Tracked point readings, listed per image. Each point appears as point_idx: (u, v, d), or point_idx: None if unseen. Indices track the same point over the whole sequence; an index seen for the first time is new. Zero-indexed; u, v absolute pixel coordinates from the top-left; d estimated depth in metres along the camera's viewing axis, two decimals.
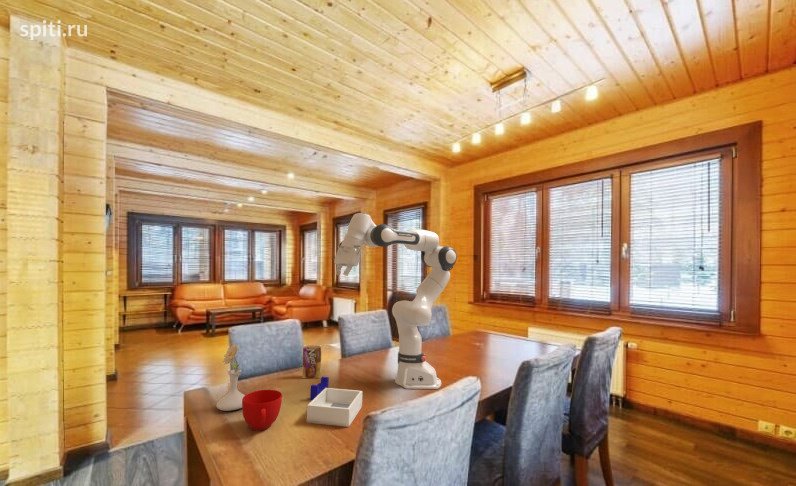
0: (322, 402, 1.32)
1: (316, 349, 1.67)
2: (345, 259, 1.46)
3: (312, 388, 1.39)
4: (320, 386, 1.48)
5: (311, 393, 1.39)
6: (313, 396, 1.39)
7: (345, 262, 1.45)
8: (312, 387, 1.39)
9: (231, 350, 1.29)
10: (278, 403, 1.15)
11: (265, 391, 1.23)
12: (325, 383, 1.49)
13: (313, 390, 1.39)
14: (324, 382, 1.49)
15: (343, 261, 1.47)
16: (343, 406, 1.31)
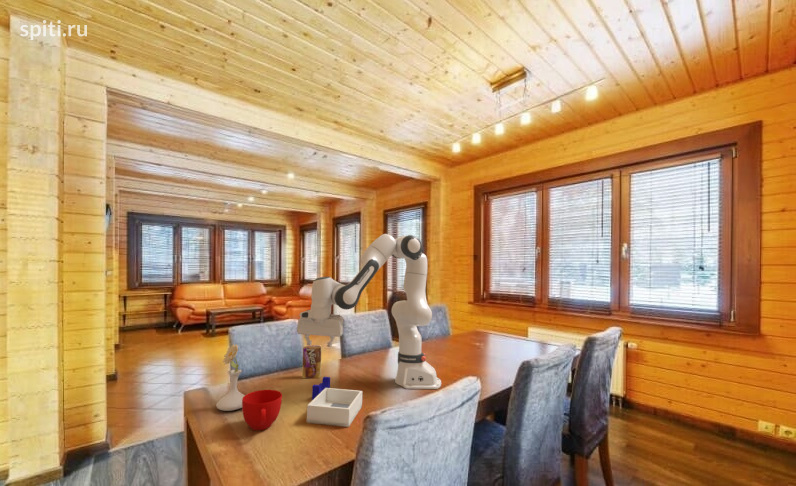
0: (322, 402, 1.32)
1: (316, 349, 1.67)
2: (325, 331, 1.45)
3: (314, 388, 1.39)
4: (322, 386, 1.48)
5: (313, 393, 1.39)
6: (315, 396, 1.39)
7: (327, 334, 1.44)
8: (314, 387, 1.39)
9: (231, 350, 1.29)
10: (278, 403, 1.15)
11: (265, 391, 1.23)
12: (327, 383, 1.49)
13: (315, 390, 1.39)
14: (326, 382, 1.49)
15: (321, 333, 1.45)
16: (343, 406, 1.31)
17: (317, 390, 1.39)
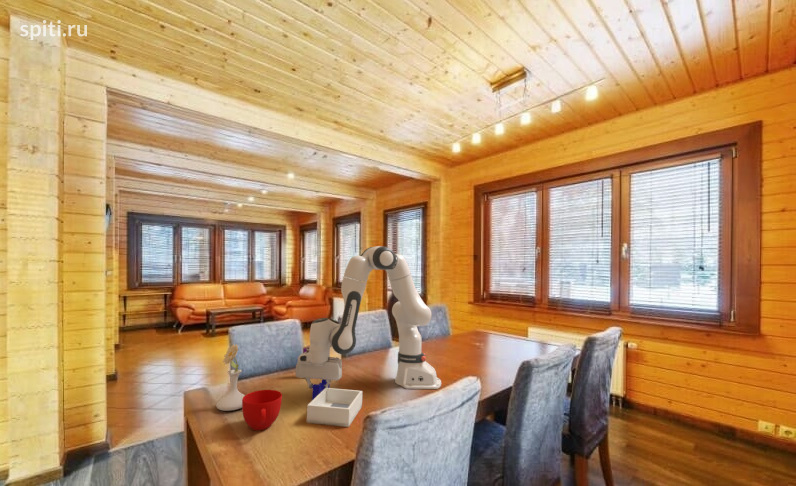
0: (322, 402, 1.32)
1: None
2: (323, 375, 1.43)
3: (314, 388, 1.40)
4: (321, 386, 1.48)
5: (313, 393, 1.39)
6: (315, 395, 1.39)
7: (326, 378, 1.43)
8: (314, 387, 1.40)
9: (231, 350, 1.29)
10: (278, 403, 1.15)
11: (265, 391, 1.23)
12: (326, 382, 1.49)
13: (315, 389, 1.39)
14: (325, 381, 1.49)
15: (320, 377, 1.44)
16: (343, 406, 1.31)
17: (317, 389, 1.39)
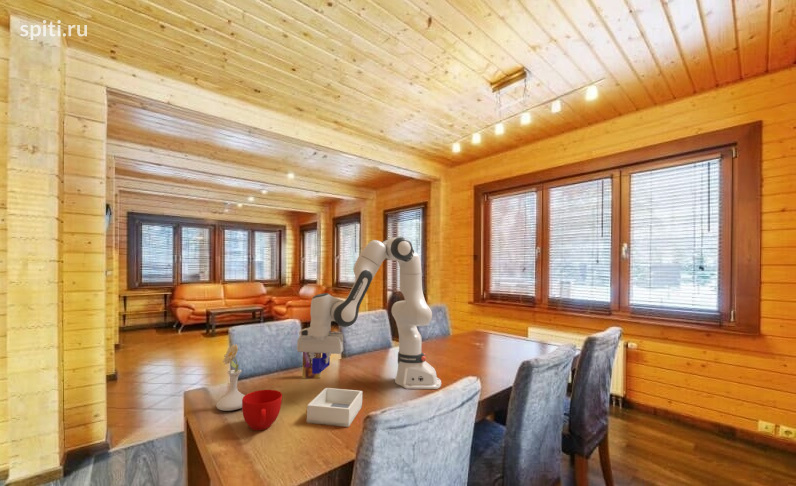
0: (322, 402, 1.32)
1: None
2: (325, 348, 1.44)
3: (314, 361, 1.41)
4: (321, 360, 1.49)
5: (313, 366, 1.41)
6: (315, 369, 1.40)
7: (327, 352, 1.44)
8: (314, 360, 1.41)
9: (231, 350, 1.29)
10: (278, 403, 1.15)
11: (265, 391, 1.23)
12: (326, 357, 1.50)
13: (315, 363, 1.41)
14: (325, 356, 1.50)
15: (322, 350, 1.44)
16: (343, 406, 1.31)
17: (317, 363, 1.40)
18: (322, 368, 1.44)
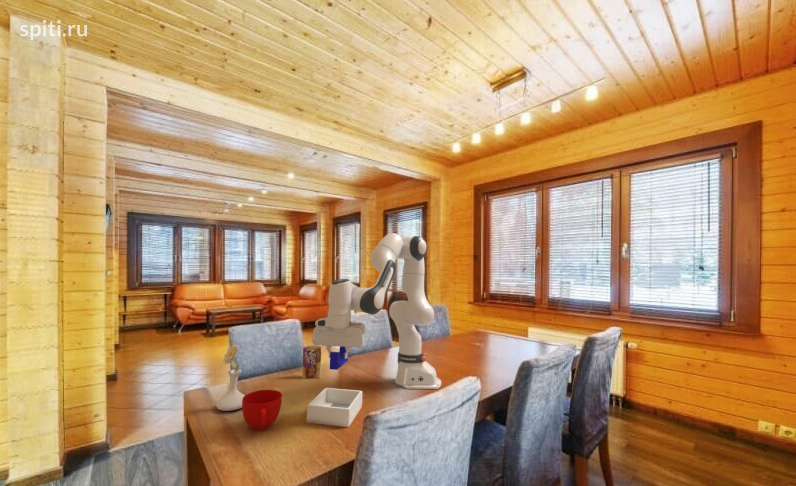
0: (322, 402, 1.32)
1: (316, 349, 1.67)
2: (344, 341, 1.27)
3: (332, 355, 1.23)
4: (339, 355, 1.32)
5: (331, 361, 1.23)
6: (333, 364, 1.23)
7: (347, 345, 1.26)
8: (332, 354, 1.23)
9: (231, 350, 1.29)
10: (278, 403, 1.15)
11: (265, 391, 1.23)
12: None
13: (333, 357, 1.23)
14: (343, 351, 1.33)
15: (341, 344, 1.27)
16: (343, 406, 1.31)
17: (335, 357, 1.23)
18: (341, 364, 1.26)
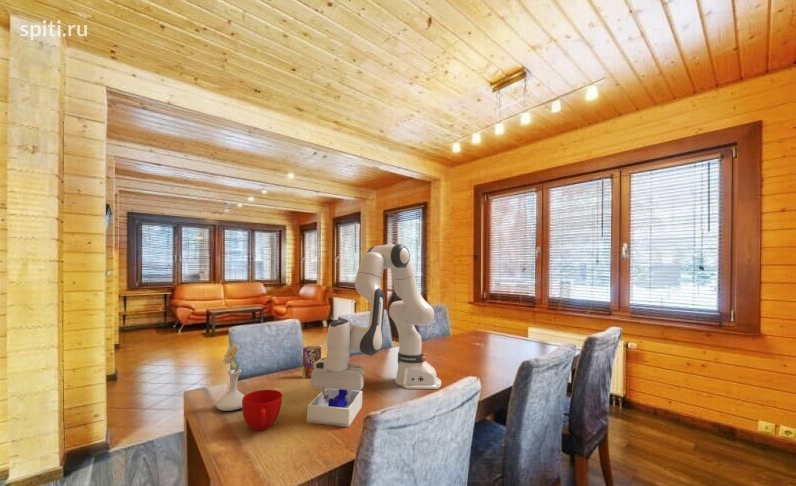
0: (322, 402, 1.32)
1: (316, 349, 1.67)
2: (343, 384, 1.26)
3: (330, 402, 1.22)
4: (338, 399, 1.31)
5: None
6: None
7: (346, 388, 1.25)
8: (330, 401, 1.22)
9: (231, 350, 1.29)
10: (278, 403, 1.15)
11: (265, 391, 1.23)
12: (344, 396, 1.31)
13: (331, 405, 1.22)
14: (342, 395, 1.32)
15: (339, 386, 1.26)
16: None
17: (334, 405, 1.22)
18: None
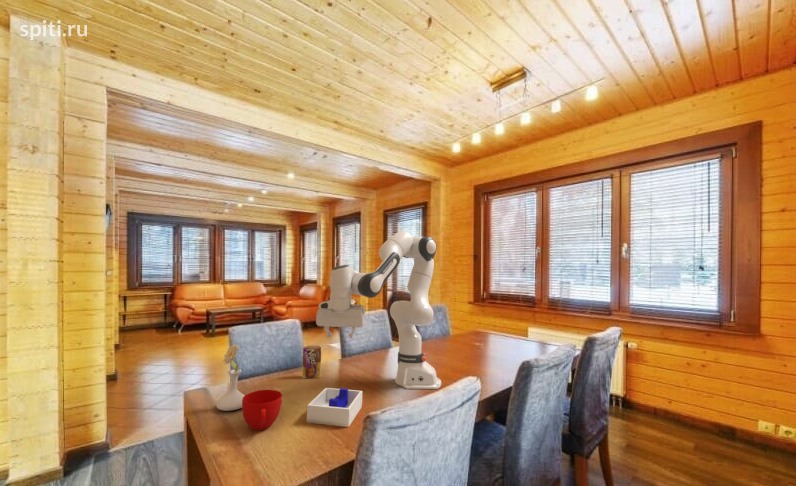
0: (322, 402, 1.32)
1: (316, 349, 1.67)
2: (346, 322, 1.37)
3: (331, 403, 1.22)
4: (339, 399, 1.31)
5: None
6: None
7: (349, 325, 1.37)
8: (331, 401, 1.22)
9: (231, 350, 1.29)
10: (278, 403, 1.15)
11: (265, 391, 1.23)
12: (344, 396, 1.31)
13: (332, 405, 1.22)
14: (343, 395, 1.32)
15: (342, 324, 1.38)
16: None
17: (334, 405, 1.22)
18: None
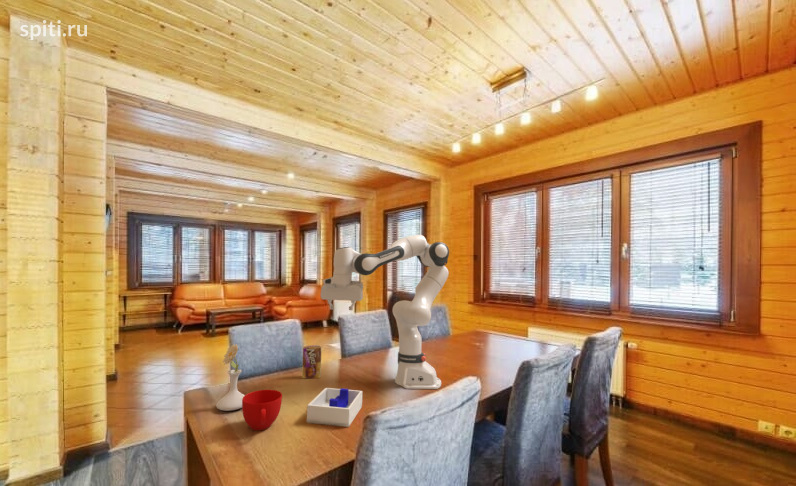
0: (322, 402, 1.32)
1: (316, 349, 1.67)
2: (346, 296, 1.57)
3: (331, 403, 1.22)
4: (339, 399, 1.31)
5: None
6: None
7: (349, 299, 1.57)
8: (331, 401, 1.22)
9: (231, 350, 1.29)
10: (278, 403, 1.15)
11: (265, 391, 1.23)
12: (345, 396, 1.31)
13: (332, 405, 1.22)
14: (343, 395, 1.32)
15: (343, 298, 1.58)
16: None
17: (335, 405, 1.22)
18: None
